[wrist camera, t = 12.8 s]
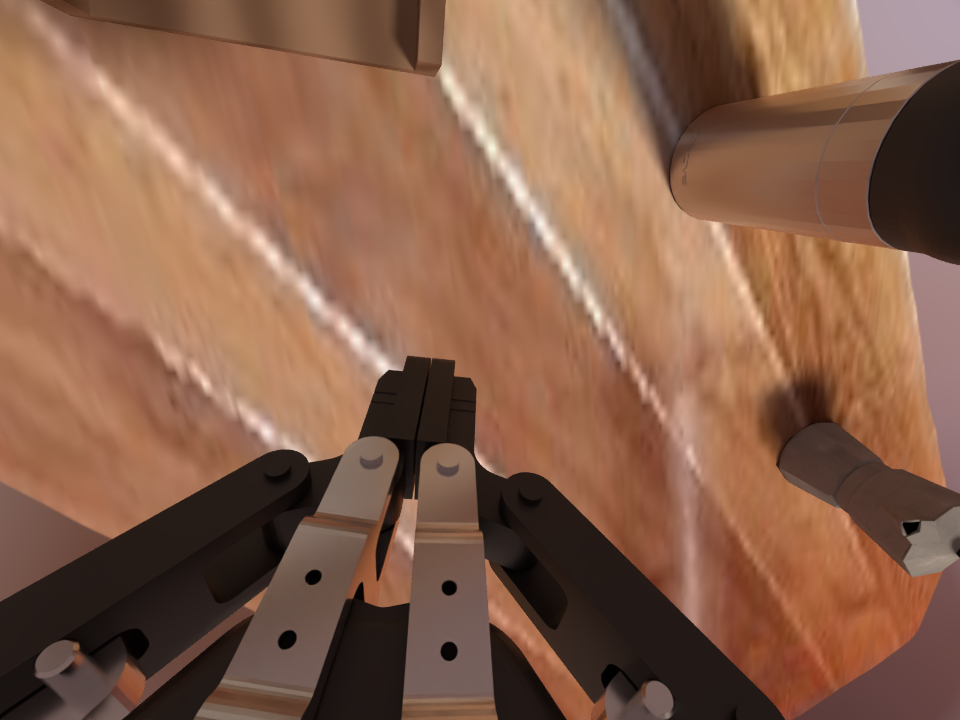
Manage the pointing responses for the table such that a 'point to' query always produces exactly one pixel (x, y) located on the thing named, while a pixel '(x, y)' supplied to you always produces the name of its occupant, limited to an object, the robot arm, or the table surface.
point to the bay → (294, 26)
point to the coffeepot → (877, 497)
